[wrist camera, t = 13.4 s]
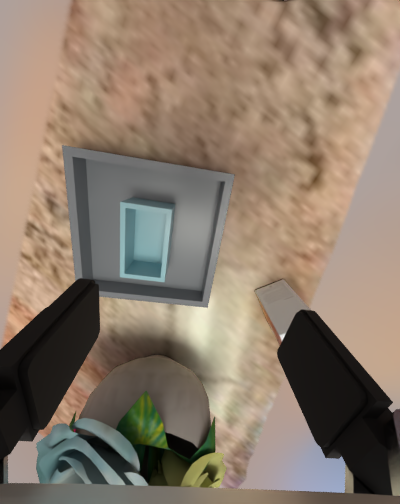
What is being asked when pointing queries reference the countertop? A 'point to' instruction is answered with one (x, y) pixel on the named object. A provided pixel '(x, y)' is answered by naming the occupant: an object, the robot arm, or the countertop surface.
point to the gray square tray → (151, 188)
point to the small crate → (145, 238)
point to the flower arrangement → (137, 432)
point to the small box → (279, 306)
